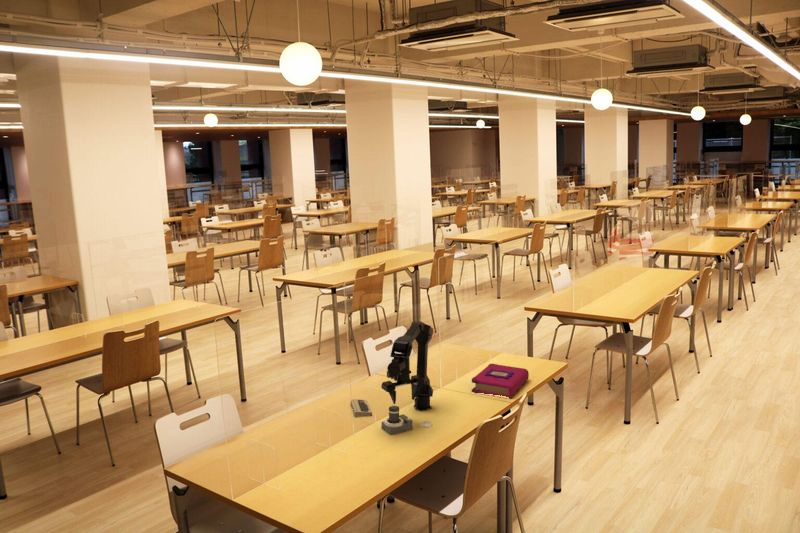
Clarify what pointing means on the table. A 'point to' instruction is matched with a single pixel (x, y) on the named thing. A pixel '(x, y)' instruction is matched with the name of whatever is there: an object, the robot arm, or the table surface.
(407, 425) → the camera body
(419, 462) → the table surface
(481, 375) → the book
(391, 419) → the lens
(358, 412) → the computer
